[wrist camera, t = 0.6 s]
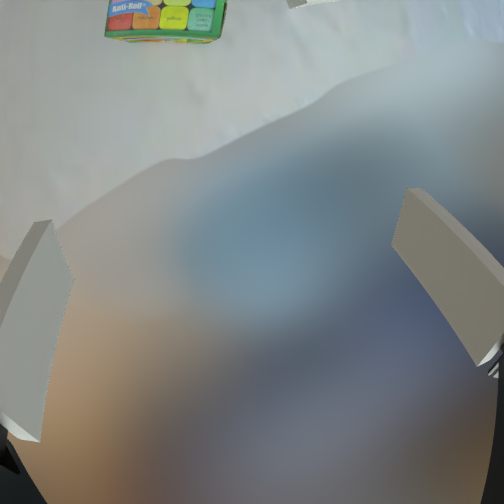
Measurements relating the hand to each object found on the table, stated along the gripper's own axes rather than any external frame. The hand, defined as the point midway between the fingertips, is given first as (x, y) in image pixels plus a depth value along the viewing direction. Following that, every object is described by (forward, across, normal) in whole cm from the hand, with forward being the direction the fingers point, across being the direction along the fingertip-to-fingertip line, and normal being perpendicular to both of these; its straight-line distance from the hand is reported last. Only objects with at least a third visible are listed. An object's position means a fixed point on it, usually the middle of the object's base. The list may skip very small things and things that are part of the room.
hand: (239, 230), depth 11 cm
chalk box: (+28, -3, +11) cm, 30 cm away
